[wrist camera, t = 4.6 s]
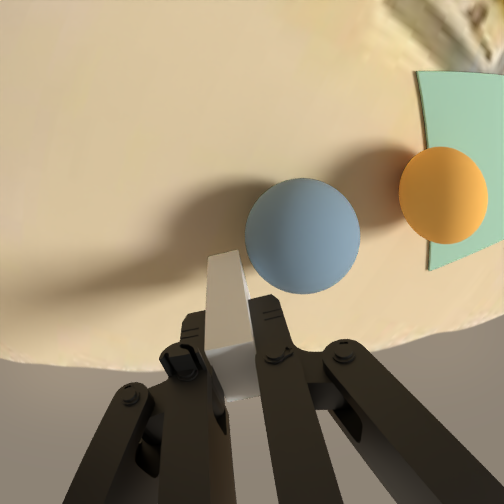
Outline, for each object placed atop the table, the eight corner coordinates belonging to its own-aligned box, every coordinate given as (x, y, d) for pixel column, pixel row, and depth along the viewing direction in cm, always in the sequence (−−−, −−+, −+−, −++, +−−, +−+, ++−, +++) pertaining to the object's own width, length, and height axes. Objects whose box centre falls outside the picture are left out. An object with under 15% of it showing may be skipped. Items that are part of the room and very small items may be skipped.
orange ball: (371, 156, 16) (429, 180, 11) (439, 129, 16) (501, 145, 11) (392, 235, 19) (441, 278, 14) (452, 204, 18) (505, 235, 13)
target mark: (428, 270, 20) (429, 271, 20) (415, 71, 14) (417, 71, 14) (528, 226, 20) (529, 226, 20) (528, 78, 14) (530, 79, 14)
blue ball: (256, 237, 10) (386, 193, 11) (221, 180, 15) (321, 152, 16) (277, 334, 14) (378, 291, 15) (243, 265, 18) (327, 235, 19)
